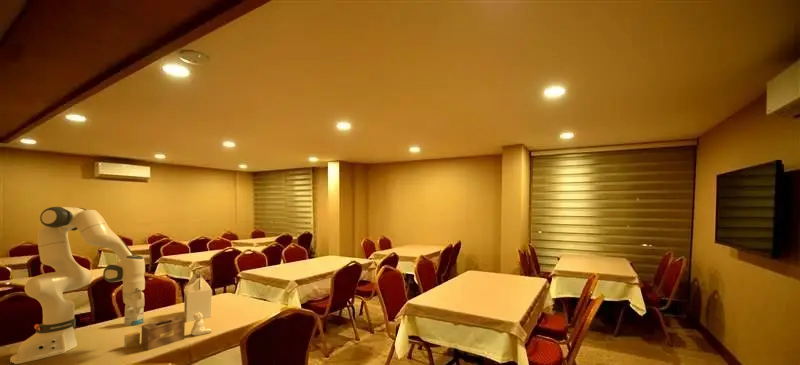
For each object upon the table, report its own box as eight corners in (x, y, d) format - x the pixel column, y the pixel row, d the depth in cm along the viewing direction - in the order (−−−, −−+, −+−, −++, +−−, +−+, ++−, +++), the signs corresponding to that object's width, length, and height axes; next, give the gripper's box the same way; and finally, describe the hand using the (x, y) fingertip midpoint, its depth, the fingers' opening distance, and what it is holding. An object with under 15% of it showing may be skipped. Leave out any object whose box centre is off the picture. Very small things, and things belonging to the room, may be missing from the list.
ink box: (143, 322, 201) (144, 302, 202) (136, 325, 196) (137, 305, 197) (131, 322, 202) (131, 302, 203) (123, 325, 197) (124, 305, 198)
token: (126, 349, 164) (126, 336, 164) (124, 347, 166) (124, 335, 166) (139, 345, 168) (140, 333, 169) (137, 343, 170) (138, 331, 171)
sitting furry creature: (212, 332, 183) (212, 310, 184) (196, 338, 176) (196, 315, 176) (203, 329, 188) (203, 308, 189) (186, 334, 180) (187, 312, 181)
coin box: (148, 350, 162) (148, 329, 162) (141, 345, 168) (141, 325, 168) (184, 339, 175) (184, 320, 175) (176, 334, 181) (177, 316, 181)
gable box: (184, 312, 218) (185, 270, 219) (207, 308, 226) (207, 267, 227) (186, 322, 200) (187, 275, 202) (211, 317, 208) (212, 272, 210)
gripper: (148, 288, 165) (148, 316, 164) (135, 283, 177) (134, 309, 176) (133, 291, 160) (132, 320, 159) (120, 286, 172) (119, 313, 171)
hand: (133, 314), depth 168 cm, fingers open, 8 cm apart
